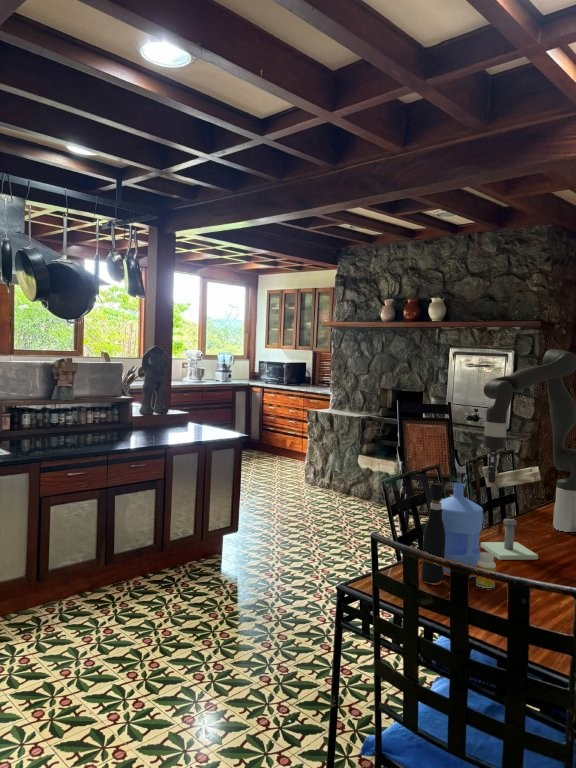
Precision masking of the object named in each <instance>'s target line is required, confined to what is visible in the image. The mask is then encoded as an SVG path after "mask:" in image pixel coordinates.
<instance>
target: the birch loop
mask: <svg viewBox="0 0 576 768" xmlns="http://www.w3.org/2000/svg"><path fill="white" fill-rule="evenodd" d="M488 467H489V465H487V466H483V467H482V468H481V469H482V474H483V477H484V480H485V485H486V488H490V487H495V486H498V488H504V487H509V486H510V487H511V486H515V485H522V484H528V483H533V482H539V481H541V479H542V478H541V472H540V470H539V469H540V468H539V466H538V465H537V466H532V467H527V468H522V469H516V470H509V471H504V472H499V473H498V469H497V470H496V473H495V482H494V483H490V482H488V477H489V471H488ZM490 468H494V466H490Z"/></svg>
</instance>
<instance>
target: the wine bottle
mask: <svg viewBox="0 0 576 768" xmlns="http://www.w3.org/2000/svg"><path fill="white" fill-rule="evenodd" d="M429 487H430V488H429V495H431V502H430V507H429V509H428V512H429V513H428V519H427V521H426V524H425V526H424V530H423V539H422V551H423V550H424V551H426V552H428V553H429V554H432V555H435V556H438V557H442V558H444V555H445V528H444V524H443V521H442V509H441V508H442V507H441V506H442V504H441V503H440V501H441V500H442V498H441V497H442V496H444V488H445V487H444V483H443V482H438V481H432V482H430V486H429ZM443 575H444V567H442V566H438V565H436V564H433V563H429V562H426V561H423V560H422V561H421V575H420V577H421V579H422V580H423V581H425V582H428V583H438V582H440V581H442V580H443V581H444V576H443ZM421 579H420V580H421Z"/></svg>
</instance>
